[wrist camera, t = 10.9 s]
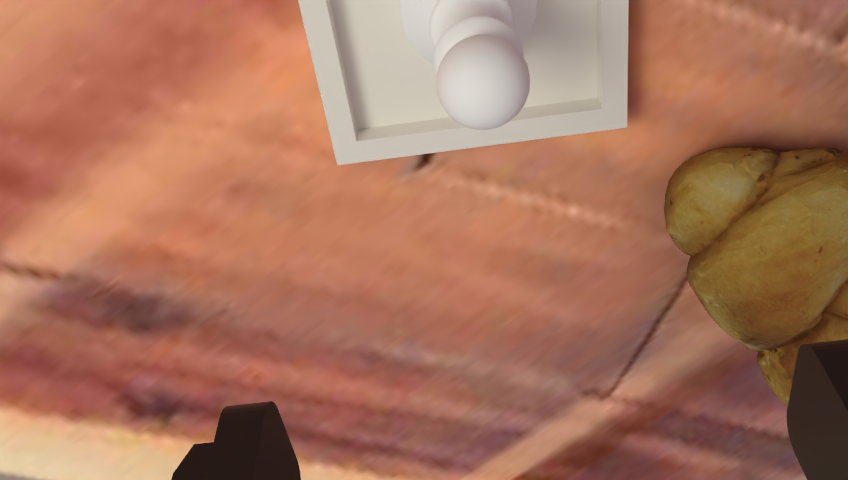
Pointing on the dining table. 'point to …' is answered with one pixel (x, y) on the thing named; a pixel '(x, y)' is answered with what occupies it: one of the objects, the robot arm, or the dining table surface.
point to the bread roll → (766, 247)
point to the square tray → (417, 82)
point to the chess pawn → (474, 55)
